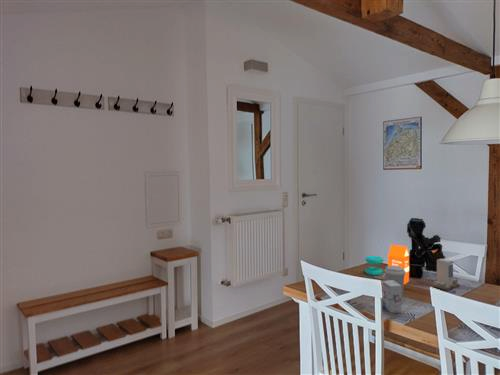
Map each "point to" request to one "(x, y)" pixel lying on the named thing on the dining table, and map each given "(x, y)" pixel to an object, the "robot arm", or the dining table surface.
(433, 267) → the black slab
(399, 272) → the grey canister
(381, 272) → the donuts
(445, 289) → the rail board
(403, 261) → the orange juice
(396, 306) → the ink box
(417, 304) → the dining table surface
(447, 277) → the module
